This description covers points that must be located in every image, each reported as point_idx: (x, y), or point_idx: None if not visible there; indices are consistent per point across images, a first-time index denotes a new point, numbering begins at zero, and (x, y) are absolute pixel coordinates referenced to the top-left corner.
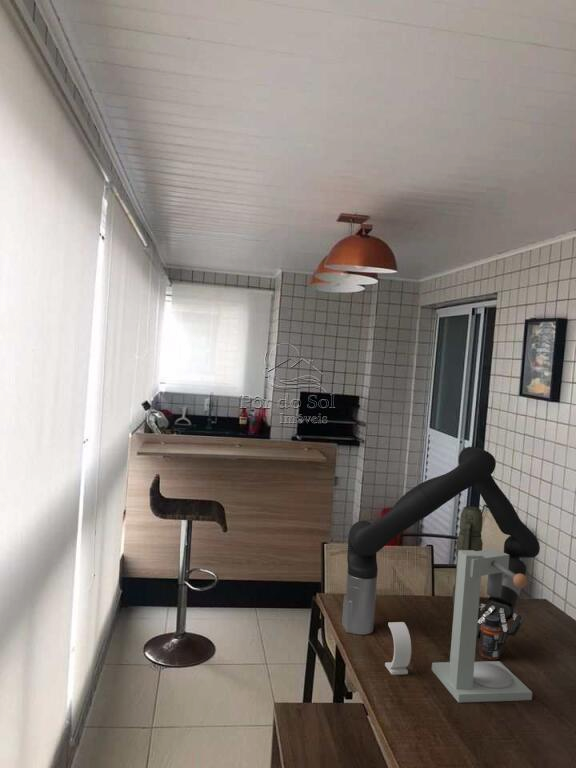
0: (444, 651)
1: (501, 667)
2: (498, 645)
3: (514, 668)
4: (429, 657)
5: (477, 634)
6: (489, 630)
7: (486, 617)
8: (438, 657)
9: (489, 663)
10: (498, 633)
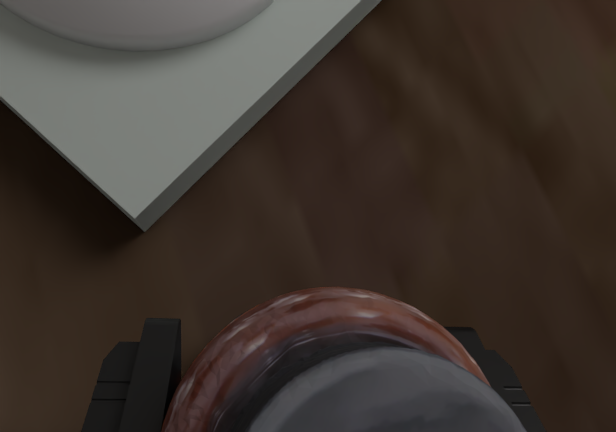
0: (570, 197)
1: (82, 109)
2: (180, 356)
3: (24, 338)
4: (585, 36)
5: (454, 331)
6: (314, 289)
7: (498, 421)
8: (548, 77)
9: (171, 26)
10: (184, 375)
